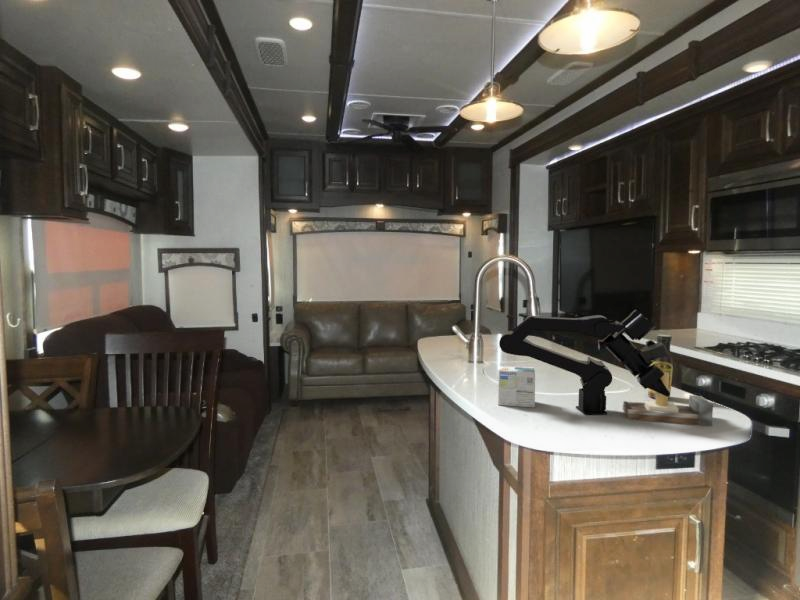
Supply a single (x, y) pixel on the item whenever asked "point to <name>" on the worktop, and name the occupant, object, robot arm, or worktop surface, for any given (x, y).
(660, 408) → the rail carriage
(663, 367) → the sauce bottle
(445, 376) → the worktop surface
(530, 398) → the light bulb box
